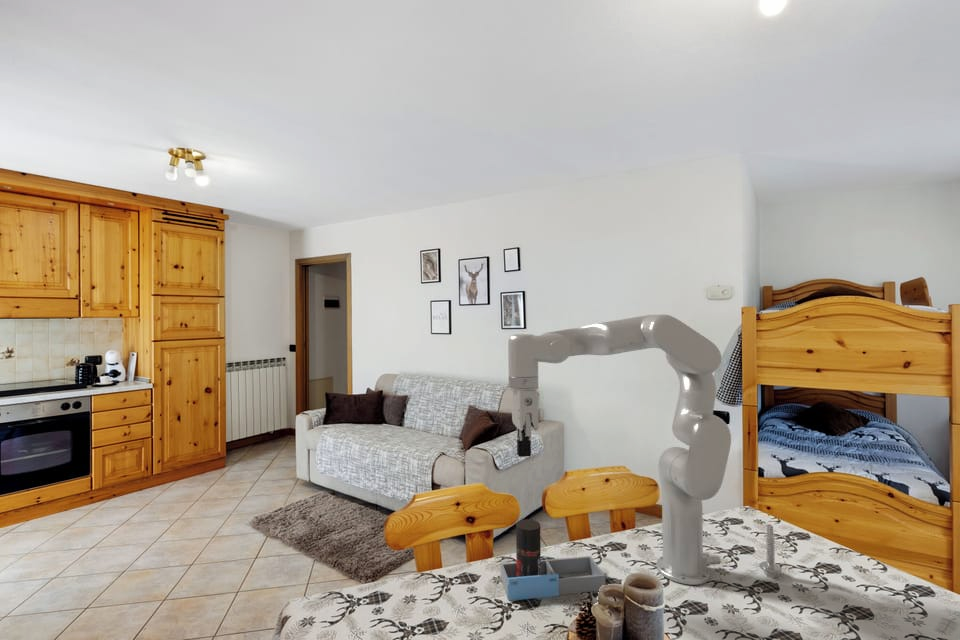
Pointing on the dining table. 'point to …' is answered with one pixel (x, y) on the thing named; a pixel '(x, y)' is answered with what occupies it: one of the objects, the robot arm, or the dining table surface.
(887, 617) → the dining table surface
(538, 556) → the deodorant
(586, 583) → the two-compartment tray
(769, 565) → the screw
